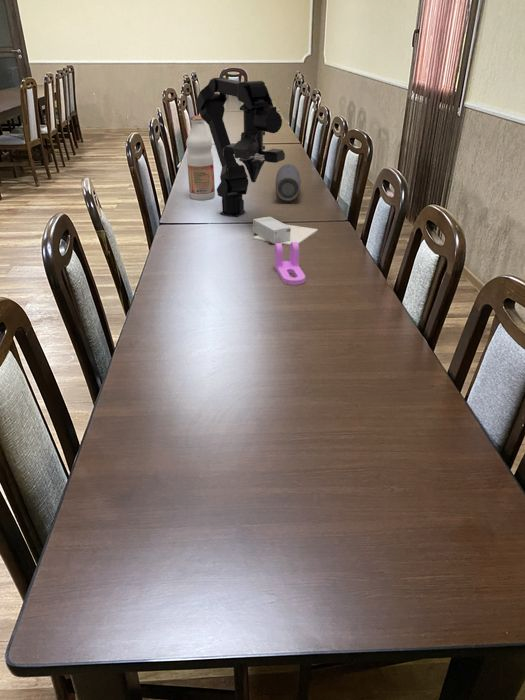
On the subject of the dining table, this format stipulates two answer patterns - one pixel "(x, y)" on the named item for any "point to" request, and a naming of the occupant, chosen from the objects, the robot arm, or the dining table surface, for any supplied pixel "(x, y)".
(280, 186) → the bluetooth speaker
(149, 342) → the dining table surface
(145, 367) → the dining table surface
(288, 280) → the bracket
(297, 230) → the rubber mat
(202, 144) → the fruit juice
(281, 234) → the skincare box
